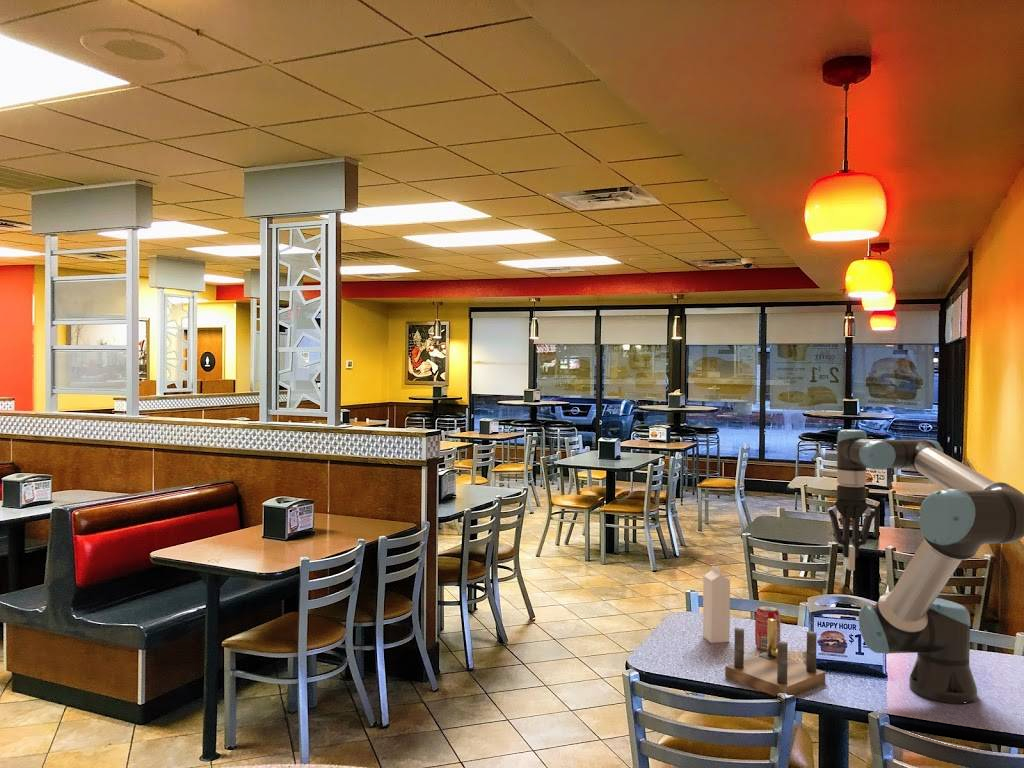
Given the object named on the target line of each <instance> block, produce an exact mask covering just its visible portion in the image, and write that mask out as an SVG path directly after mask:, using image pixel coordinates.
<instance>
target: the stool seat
mask: <svg viewBox="0 0 1024 768" xmlns="http://www.w3.org/2000/svg"><path fill="white" fill-rule="evenodd" d="M817 634H818V633H817V632H815V631H806V656H805V657H806V658H805V659H806V664H802V663H799V662H797V661H794V660H790V659H788V652H789V651H788V646H789V644H788V643H789V642H787V641H784V640H780V641H778V649H777V657H775V656H773V655H769V654H767V651H766V652H763V653H760V654H757V655H754V656H751V657H748V658H745V629H744V628H742V627H735V628H734V644H733V645H734V648H733V649H734V652H733V653H734V654H733V655H734V662H733V663H731V664H727V665H725V666H724V667H725V668H724V670H725V671H724V674H725V675H724V676H725V677H727V678H726V679H728V678H730V679H729V680H731V679H732V680H731V681H733V680H735V681H734V682H736V681H737V682H736V683H739V684H741V683H742V685H745V686H747V687H750V688H752V689H755V690H757V689H758V691H760V690H761V691H760V692H763V691H764V692H763V693H766V694H769V695H771V696H774V697H776V695H777V694H778V693H786V694H787V695H795V696H798V695H801V694H802V693H806V692H808V691H810V690H812V689H814V688H817V687H820V686H822V685H824V684H826V671H824V670H821V669H817ZM725 677H724V678H725ZM795 696H794V697H795Z"/></svg>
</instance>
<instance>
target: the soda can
mask: <svg viewBox="0 0 1024 768" xmlns="http://www.w3.org/2000/svg"><path fill="white" fill-rule="evenodd" d="M769 618H772V619H776V620H777V642H776V649H778V641H781V614H780V612H779V608H778V607H777V606H775V605H771V604H760V605H758V606H757V610H756V611H755V618H754V620H755V621H754V622H755V623H754V636H755V637H754V640H755V641H754V642H755V646H756V647H757V648H759V649H760V650H761V649H762V651H765V650H767V627H768V619H769Z"/></svg>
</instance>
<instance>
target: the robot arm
mask: <svg viewBox="0 0 1024 768" xmlns="http://www.w3.org/2000/svg"><path fill="white" fill-rule="evenodd" d="M867 435H868V434H867V432H866V431H865V430H864V429H863V430H861V429H840V430H839V431H838V432H837V440H836V458H837V459H836V462H837V463H836V464H837V465H836V466H837V469H836V471H837V472H836V473H837V474H836V482H837V485H836V501H835V502H834V506H831V508H827V509H826V513H827V515H829V517H830V522H831V525H832V530H833V534H834V539H835V542H836V543H838V544H840V545H842V556H843V557H844V558H846V560H845V562H846V563H845V564H846V567H845V568H846V569H847V570H848V571H856V570H855V569H856V568H855V567H856V565H855V564H856V563H855V562H856V559H857V558H859V556H860V555H859V554H860V553H859V548H860V547H861V546H862V545H863V546H864V545H867V541H868V536H869V533H870V529H871V526H872V522H873V519H874V518H875V516H876V515H877V512H876V511H875V510H873V509H871V508H870V507H869V505H868V503H867V487H866V486H865V485H866V484H867V468H868V469H871V470H887V469H913V470H915V471H916V472H918V473H919V474H921V475H923V476H924V477H926V478H927V479H929V480H931V482H933V483H935V484H937V485H938V486H940V487H941V488H943V489H945V490H936V491H934V492H931V493H930V494H928V495H927V496H925V498H924V499H923V501H922V503H921V505H920V507H919V509H918V510H919V512H918V513H919V515H920V516H919V517H918V526H919V529H920V531H921V535H922V538H923V539H922V542H921V543H920V545H919V546H918V548H917V549H916V551H915V552H914V555H913V556H912V557H911V559H910V561H909V563H908V564H907V566H906V567H905V569H904V571H903V572H902V574H901V575H900V578H899V579H898V581H897V582H896V583H895V586H894V587H893V589H892V591H887V592H884V593H883V594H882V595H881V596H880V597H879V599H878V601H877V602H876V603H875V604H874V605H871V604H866V605H863V606H862V607H861V608H860V610H859V613H858V625H859V630H860V633H861V636H862V639H863V641H864V643H865V645H866V646H867V647H868V649H869V650H871V651H872V652H873V653H876V654H886V655H889V654H912V653H913V654H916V653H917V657H916V660H915V663H914V664H913V668H912V671H911V673H910V676H909V681H908V683H909V689H910V690H911V691H912V692H913V693H915V694H917V695H919V696H921V697H924V698H926V699H929V700H932V701H938V702H941V701H942V702H941V703H947V702H948V704H957V703H964V702H971V703H973V702H972V701H974V700H976V699H977V700H978V688H977V684H976V681H975V679H974V676H973V671H972V670H971V666H970V649H971V647H970V643H971V641H970V640H971V639H970V638H971V635H970V633H971V626H972V624H971V617H970V612H969V609H967V608H966V607H965V606H964V605H962V604H960V603H957V602H954V601H953V600H952V601H950V600H947V599H943V598H940V597H939V598H938V596H939V595H940V593H941V592H942V590H943V589H944V588H945V586H946V584H947V583H948V582H949V580H950V578H951V577H952V576H953V574H954V572H955V571H956V569H957V568H958V567H959V565H960V564H961V562H962V561H967V560H971V559H972V558H973V557H974V556H976V554H977V552H978V551H979V550H980V548H981V547H982V545H986V544H987V545H988V544H989V545H991V544H994V545H995V544H1011V543H1014V542H1018V541H1020V540H1022V539H1023V538H1024V492H1022V491H1020V490H1019V489H1017V488H1015V487H1013V486H1012V485H1010V484H1009V483H1006V482H1002V481H999V482H998V481H997V482H995V481H994V480H992V479H990V478H988V477H987V476H985V475H983V474H981V473H979V472H978V471H976V470H975V469H973V468H971V467H969V466H967V465H965V464H963V463H962V462H960V461H958V460H956V459H955V458H952V457H951V456H949V455H947V454H946V453H944V449H943V447H942V446H941V444H940V443H939V441H936V440H931V439H925V438H923V439H922V438H921V439H869V438H868V436H867ZM837 511H838V512H839V514H840V516H842V518H841V520H842V534H841V529H840V525H839V521H838V517H837V514H838V512H837ZM862 515H865V517H864V520H863V523H862V528H861V531H860V522H861V517H862ZM851 521H852V523H851ZM850 526H852V528H851V530H850ZM850 531H851V532H852V533H851V532H850ZM850 533H851V538H850ZM850 539H851V544H850ZM977 700H976V701H977ZM974 702H975V701H974ZM964 704H965V703H964Z"/></svg>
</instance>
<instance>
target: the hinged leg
mask: <svg viewBox="0 0 1024 768" xmlns="http://www.w3.org/2000/svg"><path fill="white" fill-rule="evenodd" d="M776 642H777V620H776V619H772V618H769V619H768V627H767V651H766V653H767V654H769V655H773V656H775V657H777V649H776Z"/></svg>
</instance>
